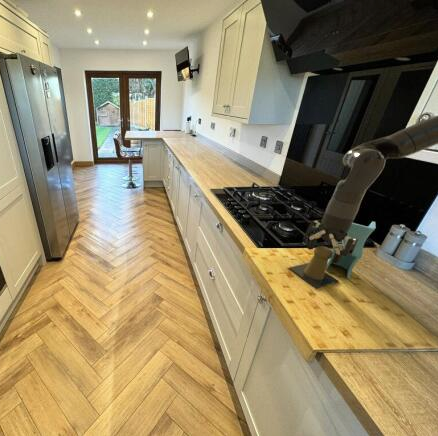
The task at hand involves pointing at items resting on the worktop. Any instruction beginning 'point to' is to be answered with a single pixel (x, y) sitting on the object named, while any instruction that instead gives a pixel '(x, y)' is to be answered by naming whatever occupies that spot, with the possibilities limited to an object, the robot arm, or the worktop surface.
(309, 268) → the cork
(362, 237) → the teal waisted stand
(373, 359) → the worktop surface
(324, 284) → the slate coaster
